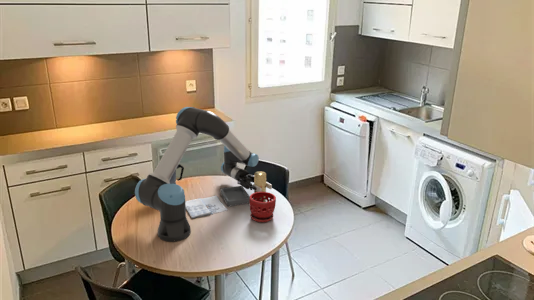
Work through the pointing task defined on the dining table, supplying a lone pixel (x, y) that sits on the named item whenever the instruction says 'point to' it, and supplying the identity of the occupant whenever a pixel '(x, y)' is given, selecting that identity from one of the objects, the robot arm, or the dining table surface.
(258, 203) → the plant pot
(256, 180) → the cylinder
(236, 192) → the slate tray
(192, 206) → the bicycle print cloth
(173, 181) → the moka pot
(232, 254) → the dining table surface
